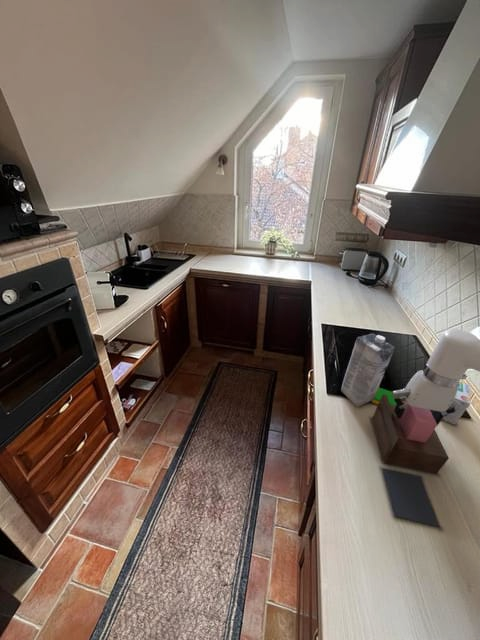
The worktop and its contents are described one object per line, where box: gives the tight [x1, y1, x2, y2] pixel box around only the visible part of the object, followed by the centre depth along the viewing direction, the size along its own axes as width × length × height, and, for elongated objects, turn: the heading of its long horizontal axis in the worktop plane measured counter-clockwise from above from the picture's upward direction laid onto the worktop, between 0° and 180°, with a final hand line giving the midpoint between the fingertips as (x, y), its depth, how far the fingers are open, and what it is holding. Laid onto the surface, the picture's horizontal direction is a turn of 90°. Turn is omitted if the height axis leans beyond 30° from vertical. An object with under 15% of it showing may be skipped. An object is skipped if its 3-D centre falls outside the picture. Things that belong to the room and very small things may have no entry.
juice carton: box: [340, 332, 396, 407], centre depth 90 cm, size 9×10×27 cm
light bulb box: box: [432, 381, 472, 425], centre depth 89 cm, size 11×7×11 cm, turn 144°
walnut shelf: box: [371, 394, 450, 475], centre depth 77 cm, size 14×16×12 cm
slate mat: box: [382, 468, 440, 528], centre depth 67 cm, size 10×12×1 cm
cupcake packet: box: [399, 400, 438, 443], centre depth 74 cm, size 5×9×8 cm, turn 168°
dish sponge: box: [370, 386, 403, 406], centre depth 94 cm, size 7×14×2 cm, turn 60°
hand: (414, 418), depth 74 cm, fingers open, 9 cm apart
